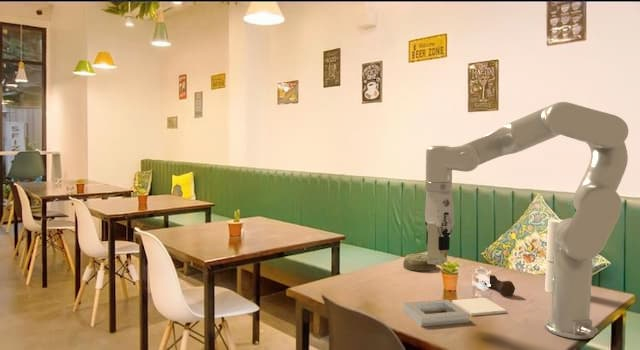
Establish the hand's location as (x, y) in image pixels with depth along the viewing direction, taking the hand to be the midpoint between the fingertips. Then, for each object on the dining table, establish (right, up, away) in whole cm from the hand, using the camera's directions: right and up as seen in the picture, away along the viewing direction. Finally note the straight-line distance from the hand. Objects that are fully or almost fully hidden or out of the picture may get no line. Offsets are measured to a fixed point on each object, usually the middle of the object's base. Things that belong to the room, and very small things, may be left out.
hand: (437, 246), depth 144 cm
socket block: (0, -21, +2) cm, 21 cm away
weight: (+6, -17, +57) cm, 60 cm away
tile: (+15, -21, +10) cm, 27 cm away
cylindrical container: (+48, -20, +27) cm, 59 cm away
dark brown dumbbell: (+28, -20, +28) cm, 44 cm away
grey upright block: (0, -5, 0) cm, 5 cm away
